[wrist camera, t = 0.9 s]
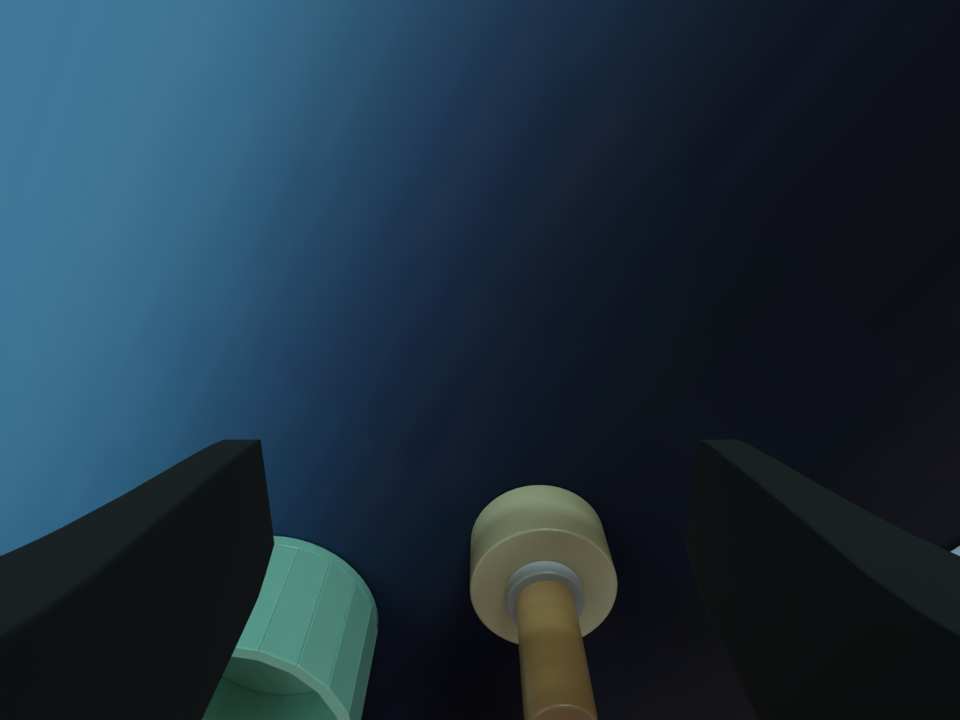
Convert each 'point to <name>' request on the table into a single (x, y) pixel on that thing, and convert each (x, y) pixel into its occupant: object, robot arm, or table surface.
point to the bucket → (302, 642)
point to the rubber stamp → (544, 591)
